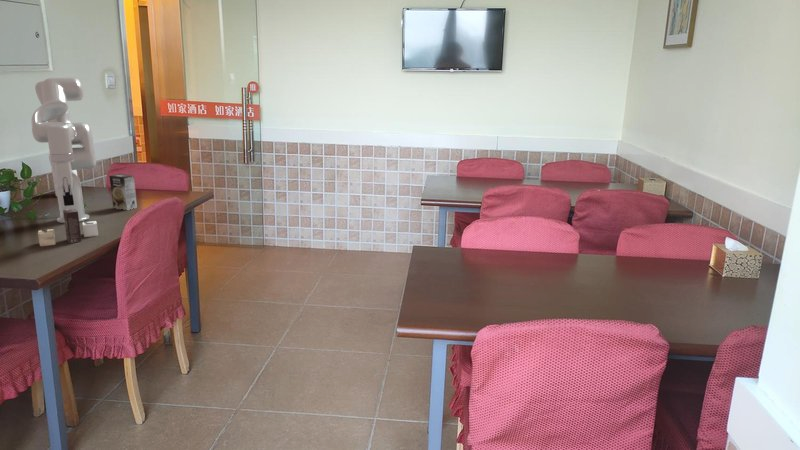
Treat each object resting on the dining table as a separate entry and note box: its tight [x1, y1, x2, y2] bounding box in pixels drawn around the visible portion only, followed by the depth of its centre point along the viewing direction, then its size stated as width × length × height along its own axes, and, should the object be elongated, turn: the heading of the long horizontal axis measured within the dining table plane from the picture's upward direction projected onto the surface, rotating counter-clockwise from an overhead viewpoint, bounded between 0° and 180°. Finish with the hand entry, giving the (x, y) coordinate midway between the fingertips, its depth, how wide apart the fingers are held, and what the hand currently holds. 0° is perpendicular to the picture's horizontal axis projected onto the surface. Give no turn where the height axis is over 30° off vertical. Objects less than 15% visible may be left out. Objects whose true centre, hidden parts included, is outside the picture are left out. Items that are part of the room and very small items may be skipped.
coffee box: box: [109, 173, 138, 211], centre depth 275 cm, size 9×6×16 cm
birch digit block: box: [37, 228, 56, 247], centre depth 221 cm, size 5×5×5 cm
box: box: [63, 209, 82, 244], centre depth 224 cm, size 6×4×12 cm
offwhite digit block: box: [81, 220, 99, 238], centre depth 233 cm, size 5×5×5 cm
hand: (69, 205), depth 222 cm, fingers closed
